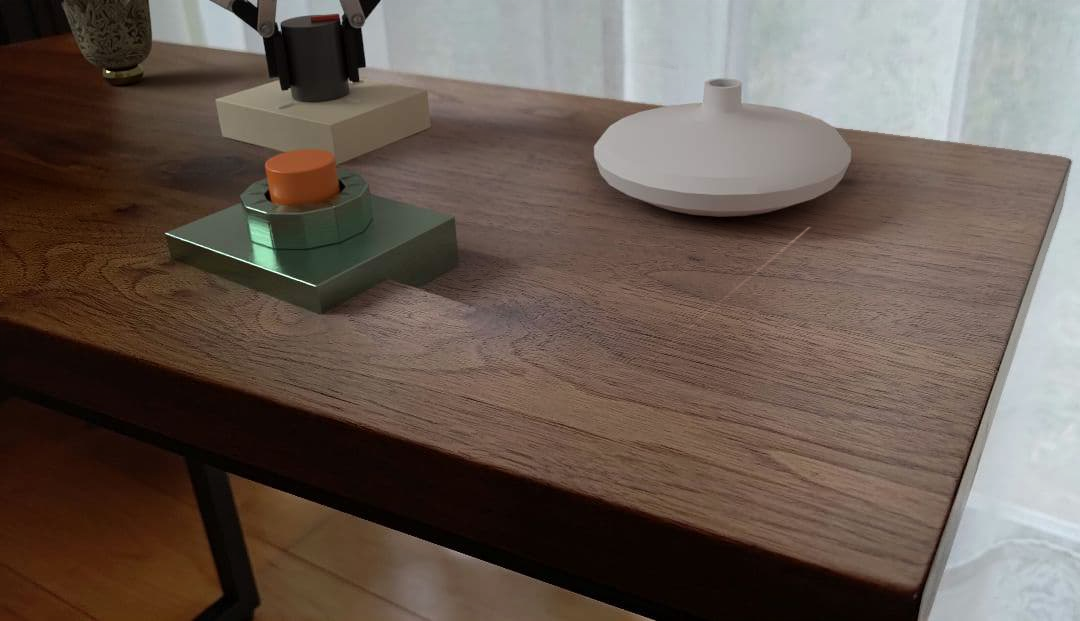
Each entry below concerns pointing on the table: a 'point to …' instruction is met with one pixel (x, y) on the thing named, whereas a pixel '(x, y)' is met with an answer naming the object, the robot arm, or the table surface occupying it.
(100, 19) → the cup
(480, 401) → the table surface
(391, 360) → the table surface
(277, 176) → the orange push button
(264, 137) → the dial panel
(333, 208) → the button base
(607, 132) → the vase
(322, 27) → the dial
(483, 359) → the table surface
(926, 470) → the table surface
